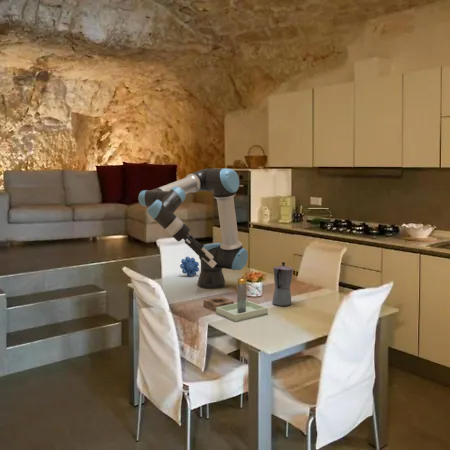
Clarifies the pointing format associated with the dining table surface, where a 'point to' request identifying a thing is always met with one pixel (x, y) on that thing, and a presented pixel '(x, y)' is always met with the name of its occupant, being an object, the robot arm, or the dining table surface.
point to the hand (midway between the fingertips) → (213, 262)
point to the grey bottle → (241, 295)
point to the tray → (232, 314)
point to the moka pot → (282, 285)
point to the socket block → (216, 302)
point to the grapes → (189, 266)
